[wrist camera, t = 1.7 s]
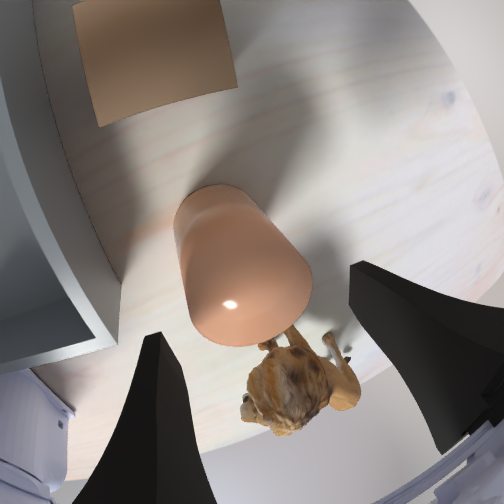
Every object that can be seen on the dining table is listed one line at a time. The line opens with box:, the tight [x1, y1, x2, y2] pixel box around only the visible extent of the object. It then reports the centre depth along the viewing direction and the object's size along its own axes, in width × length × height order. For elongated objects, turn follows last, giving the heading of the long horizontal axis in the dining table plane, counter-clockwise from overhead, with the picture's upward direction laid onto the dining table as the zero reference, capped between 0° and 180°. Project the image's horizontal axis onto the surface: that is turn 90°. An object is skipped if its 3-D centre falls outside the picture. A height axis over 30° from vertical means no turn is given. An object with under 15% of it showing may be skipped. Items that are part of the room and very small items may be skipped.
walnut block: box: [72, 0, 238, 128], centre depth 10 cm, size 5×5×5 cm
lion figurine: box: [240, 324, 361, 436], centre depth 21 cm, size 15×5×9 cm, turn 56°
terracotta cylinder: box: [174, 184, 313, 347], centre depth 14 cm, size 5×5×7 cm
